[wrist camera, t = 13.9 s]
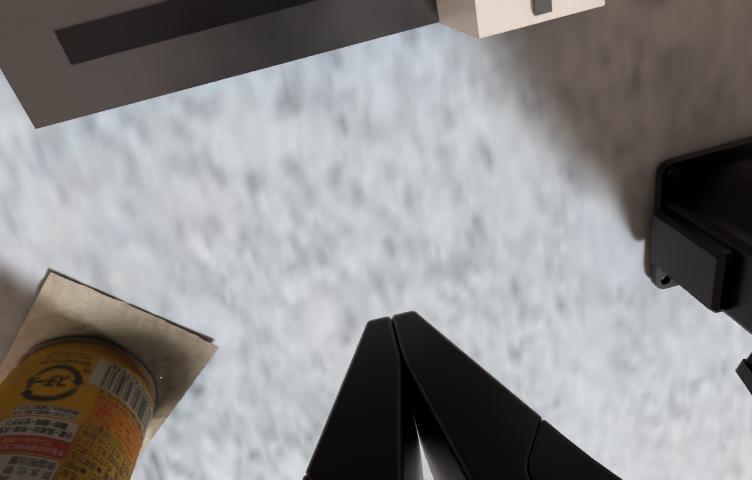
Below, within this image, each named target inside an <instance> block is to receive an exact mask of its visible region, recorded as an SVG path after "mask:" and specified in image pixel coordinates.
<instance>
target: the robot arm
mask: <svg viewBox="0 0 752 480" xmlns="http://www.w3.org/2000/svg"><path fill="white" fill-rule="evenodd" d="M671 169H673V171H672V173H671V174H670V175H668V173H669V171H670V170H671ZM650 260H651V282H652V283H653V284H654V285H655V286H657V287H658V288H660V289H666V288H670V287H674V286H677V285H680V286H681V287H683V288H684V289H685V290H686V291H687V292H689V293H690V294H691V295H692V296H694V297H695V298H696V299H697V300H698V301H700V302H701V303H702V304H703V305H704V306H706V307H707V308H708V309H709V310H711V311H713V312H715V313H718V312H722V311H723V312H724V313H726V314H727V315H728V316H729V317H731V318H732V319H733V320H734V321H736V322H737V323H738V324H739V325H741V326H742V327H743V328H744V329H746V330H747V331H748V332H749V333H750V334H752V137H750V138H746V139H743V140H739V141H735V142H732V143H728V144H724V145H720V146H717V147H713V148H709V149H706V150H702V151H698V152H694V153H691V154H687V155H683V156H679V157H676V158H672V159H668V160H666V161H664V162H663V163H662V164H660V166H659V167H658V169H657V172H656V185H655V205H654V213H653V216H652V233H651V253H650ZM663 277H664V278H663ZM662 278H663V279H662ZM392 322H393V323H392ZM735 371H736V373H737V374H738V376H739V377H740V378H741V380H742V381H743V383H744V384H745V386H746V387H747V389H748V390H749V392H750V393H751V395H752V352H751V354H750V355H749V356H748V358H747V359H743V360H742V361H741V363H740V364H739V366H738V367H737V369H736V370H735ZM415 423H416V424H415ZM416 427H417V429H416ZM417 431H418V434H417ZM418 435H419V438H420V442H421V445H422V448H423V451H424V454H425V457H426V459H427V462H428V465H429V467H430V470H431V473H432V475H433V478H434V480H622V479H621V478H620V477H618V476H617V475H615V474H614V473H612V472H611V471H610V470H608V469H607V468H605V467H604V466H602V465H601V464H600V463H598V462H597V461H595V460H594V459H593V458H591V457H590V456H589V455H588V454H586V453H585V452H584V451H582V450H581V449H580V448H579V447H577V446H576V445H575V444H574V443H572V442H571V441H570V440H569V439H567V438H566V437H565V436H563V435H562V434H561V433H560V432H559V431H558V430H556V429H555V428H554V427H553V426H552V425H550V424H549V423H548V422H547V421H546V420H542V418H541V417H540V416H539V415H538V414H537V413H536V412H535V411H533V410H532V409H531V408H530V407H529V406H527V405H526V404H525V403H524V402H523V401H522V400H520V399H519V398H518V397H517V396H516V395H514V394H513V393H512V392H511V391H510V390H508V389H507V388H506V387H505V386H504V385H502V384H501V383H500V382H499V381H498V380H496V379H495V378H494V377H493V376H492V375H490V374H489V373H488V372H487V371H486V370H484V369H483V368H482V367H481V366H480V365H479V364H477V363H476V362H475V361H474V360H473V359H471V358H470V357H469V356H468V355H467V354H465V353H464V352H463V351H462V350H461V349H459V348H458V347H457V346H456V345H455V344H453V343H452V342H451V341H450V340H449V339H447V338H446V337H445V336H444V335H443V334H441V333H440V332H439V331H438V330H437V329H436V328H434V327H433V326H432V325H431V324H430V323H428V322H427V321H426V320H425V319H424V318H422V317H421V316H420V315H419V314H418V313H416V312H415V311H409V312H405V313H401V314H396V315H394V316H393V317H392V319H391V318H390V317H383V318H379V319H374V320H370V321H369V322H368V323H367V324H366V327H365V329H364V332H363V334H362V336H361V339H360V341H359V344H358V346H357V349H356V351H355V353H354V356H353V358H352V361H351V363H350V366H349V368H348V371H347V373H346V375H345V378H344V380H343V383H342V385H341V388H340V390H339V393H338V395H337V397H336V400H335V402H334V405H333V407H332V410H331V412H330V414H329V417H328V419H327V422H326V424H325V427H324V429H323V432H322V434H321V436H320V439H319V441H318V444H317V446H316V449H315V451H314V453H313V456H312V458H311V461H310V463H309V466H308V468H307V471H306V474H307V475H305V476H304V477H303V480H424V479H423V470H422V460H421V452H420V445H419V439H418Z"/></svg>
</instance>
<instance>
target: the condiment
mask: <svg viewBox="0 0 752 480" xmlns="http://www.w3.org/2000/svg"><path fill="white" fill-rule="evenodd" d="M85 326H90V327H91V328H89V329H84V328H83V327H85ZM76 329H79V330H81V331H80V332H75V330H76ZM218 348H219V347H217V346H215V345H214V344H211V343H209V342H207V341H205V340H202V339H201V338H200V337H199V336H197V335H194V334H192V333H189V332H188V331H186V330H183V329H181V328H179V327H177V326H174V325H171V324H169V323H168V322H166V321H165V320H162V319H160V318H158V317H155V316H153V315H151V314H149V313H146V312H144V311H141V310H139V309H136V308H134V307H132V306H131V305H130V304H128V303H126V302H122V301H119V300H116V299H113V298H110V297H108V296H106V295H103V294H101V293H99V292H97V291H95V290H93V289H91V288H89V287H87V286H84V285H80V284H77V283H75V282H73V281H70V280H68V279H65V278H63V277H61V276H59V275H56V274H54V273H52V272H50V274H49V276H48V278H47V280H46V281H45V283H44V285H43V287H42V289H41V291H40V293H39V295H38V297H37V298H36V300H35V302H34V304H33V305H32V307H31V309H30V311H29V314H28V316H27V317H26V319H25V321H24V322H23V324H22V326H21V328H20V330H19V332H18V334H17V336H16V338H15V340H14V342H13V344H12V345H11V347H10V349H9V351H8V353H7V355H6V357H5V359H4V361H3V362H2V364H1V366H0V480H130V479H131V476H132V473H133V470H134V468H135V464H136V461H137V459H138V458H139V456H140V455H141V453H142V452H143V450H144V449H145V448H146V446H147V445H148V443H149V442H150V440H151V439H152V438H153V436H154V435H155V434H156V432H157V431H158V429H159V428H160V426H161V425H162V424H163V422H164V421H165V420H166V418H167V417H168V416H169V414H170V413H171V411H172V410H173V409H174V408H175V406H176V405H177V403H178V402H179V401H180V400H181V399H182V397H183V396H184V394H185V393H186V391H187V390H188V389H189V387H190V386H191V385H192V383H193V382H194V380H195V379H196V377H197V376H198V375H199V373H200V372H201V371H202V369H203V368H204V367H205V366H206V364H207V363H208V362H209V361H210V359H211V357H212V356H213V355H214V353H215V352H216V351H217V349H218ZM160 377H162V379H161V378H160Z"/></svg>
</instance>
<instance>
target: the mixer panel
mask: <svg viewBox="0 0 752 480" xmlns="http://www.w3.org/2000/svg"><path fill="white" fill-rule="evenodd" d="M437 22H439V15H438V9H437V2H436V0H0V68H1V70H2V72H3V74H4V75H5V77H6V79H7V81H8V82H9V84H10V86H11V87H12V89H13V91H14V93H15V94H16V96H17V98H18V100H19V101H20V103H21V105H22V106H23V108H24V110H25V112H26V113H27V115H28V117H29V119H30V120H31V122H32V124H33V125H34V127H35V129H37V128H41V127H45V126H49V125H52V124H56V123H60V122H64V121H68V120H71V119H75V118H79V117H83V116H86V115H90V114H94V113H98V112H101V111H105V110H109V109H113V108H117V107H120V106H124V105H128V104H132V103H135V102H139V101H143V100H147V99H150V98H154V97H158V96H162V95H166V94H169V93H173V92H177V91H181V90H184V89H188V88H192V87H196V86H199V85H203V84H207V83H211V82H215V81H218V80H222V79H226V78H230V77H233V76H237V75H241V74H245V73H248V72H252V71H256V70H260V69H264V68H267V67H271V66H275V65H279V64H282V63H286V62H290V61H294V60H297V59H301V58H305V57H309V56H313V55H316V54H320V53H324V52H328V51H331V50H335V49H339V48H343V47H346V46H350V45H354V44H358V43H362V42H365V41H369V40H373V39H377V38H380V37H384V36H388V35H392V34H395V33H399V32H403V31H407V30H411V29H414V28H418V27H422V26H426V25H429V24H433V23H437Z"/></svg>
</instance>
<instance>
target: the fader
mask: <svg viewBox="0 0 752 480" xmlns="http://www.w3.org/2000/svg"><path fill="white" fill-rule="evenodd" d="M436 2H437V9H438V15H439V22H440V24H443V25H446V26H448V27H451V28H453V29H456V30H459V31H461V32H464V33H466V34H469V35H471V36H474V37H477V38H479V39H480V38H484V37H487V36H491V35H495V34H499V33H502V32H506V31H510V30H514V29H517V28H521V27H525V26H529V25H532V24H536V23H540V22H544V21H547V20H551V19H555V18H559V17H563V16H566V15H570V14H574V13H578V12H581V11H585V10H589V9H593V8H596V7H600V6H604V5H605V0H436Z"/></svg>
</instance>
